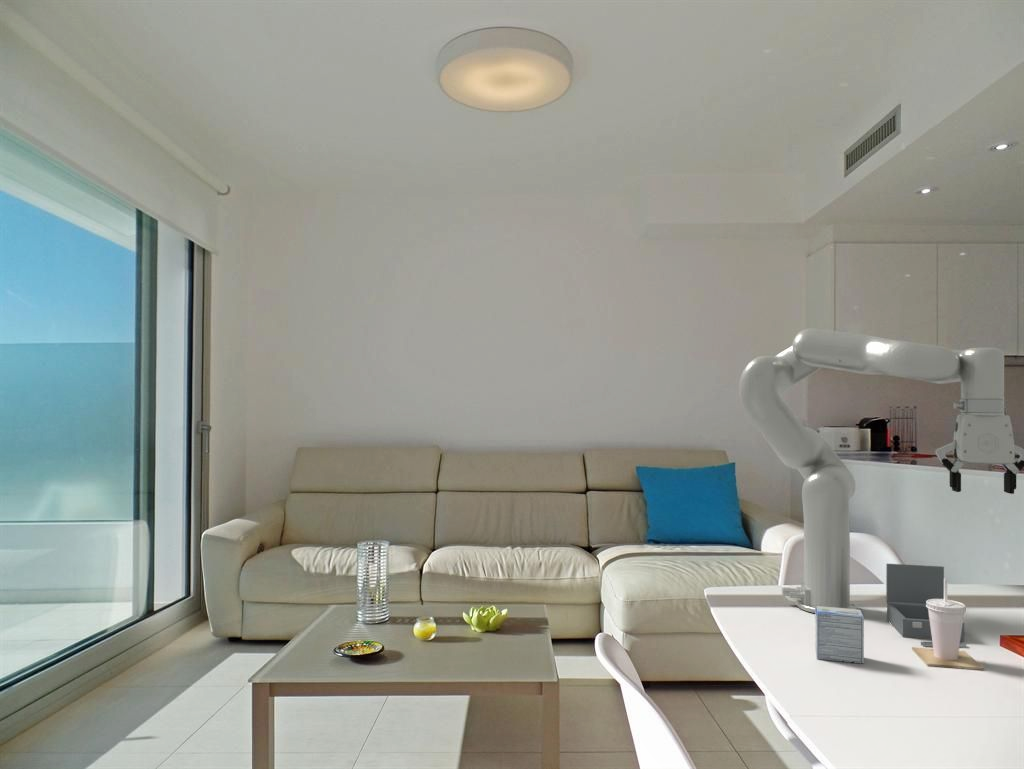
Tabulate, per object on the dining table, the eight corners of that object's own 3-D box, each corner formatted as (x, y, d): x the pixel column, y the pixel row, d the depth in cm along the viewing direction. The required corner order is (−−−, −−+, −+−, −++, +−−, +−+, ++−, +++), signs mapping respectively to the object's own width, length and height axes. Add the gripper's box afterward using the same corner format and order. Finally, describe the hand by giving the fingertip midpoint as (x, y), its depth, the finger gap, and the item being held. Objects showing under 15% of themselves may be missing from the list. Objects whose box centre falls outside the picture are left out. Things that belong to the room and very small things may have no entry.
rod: (923, 648, 144) (923, 643, 144) (920, 646, 145) (920, 641, 145) (966, 649, 144) (966, 644, 144) (963, 647, 145) (963, 642, 145)
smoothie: (964, 653, 139) (964, 577, 139) (968, 665, 133) (968, 585, 133) (924, 648, 141) (924, 573, 142) (927, 659, 136) (927, 581, 136)
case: (903, 637, 149) (903, 577, 149) (886, 619, 162) (886, 563, 162) (965, 641, 147) (965, 580, 147) (942, 623, 159) (942, 566, 159)
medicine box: (861, 657, 138) (861, 609, 138) (864, 665, 134) (864, 615, 134) (814, 651, 140) (815, 605, 141) (816, 659, 136) (816, 611, 136)
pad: (927, 665, 133) (927, 663, 133) (911, 649, 142) (911, 647, 142) (983, 670, 131) (983, 667, 131) (964, 653, 140) (964, 651, 140)
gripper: (942, 407, 152) (942, 492, 152) (1038, 409, 149) (1038, 496, 148) (930, 407, 160) (930, 488, 160) (1021, 408, 156) (1022, 491, 156)
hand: (982, 492), depth 154 cm, fingers open, 9 cm apart
